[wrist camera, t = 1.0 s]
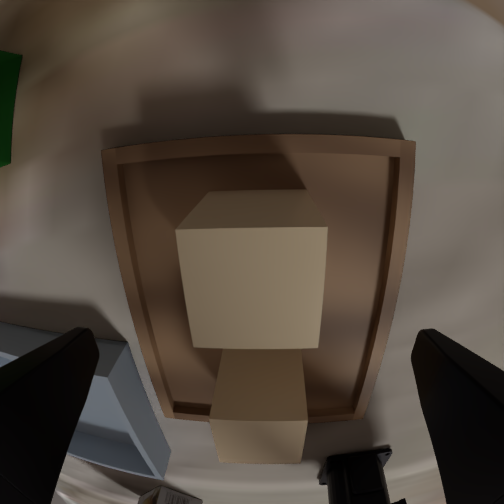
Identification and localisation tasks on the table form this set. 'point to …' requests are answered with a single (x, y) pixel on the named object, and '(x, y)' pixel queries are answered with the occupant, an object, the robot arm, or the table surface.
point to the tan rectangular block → (254, 269)
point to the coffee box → (167, 497)
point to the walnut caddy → (337, 255)
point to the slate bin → (105, 407)
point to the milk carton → (7, 101)
